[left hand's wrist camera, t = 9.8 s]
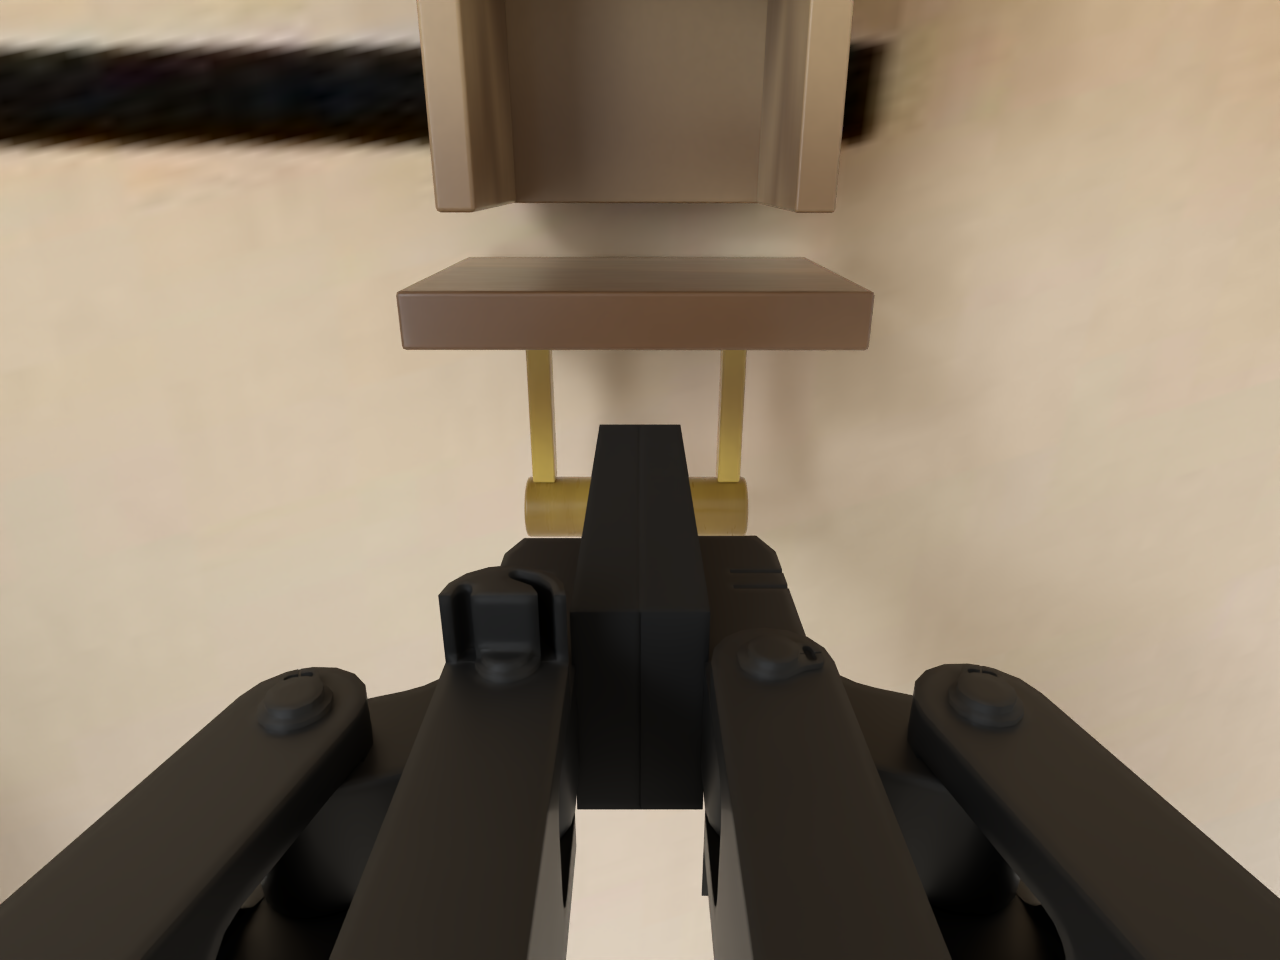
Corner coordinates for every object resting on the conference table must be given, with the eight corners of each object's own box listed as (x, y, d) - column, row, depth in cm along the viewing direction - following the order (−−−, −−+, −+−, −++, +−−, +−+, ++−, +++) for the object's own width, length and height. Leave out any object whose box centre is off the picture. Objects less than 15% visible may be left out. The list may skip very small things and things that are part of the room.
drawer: (788, 491, 24) (840, 604, 18) (485, 491, 24) (430, 604, 18) (882, -697, 15) (1061, -1343, 9) (390, -697, 15) (203, -1343, 9)
